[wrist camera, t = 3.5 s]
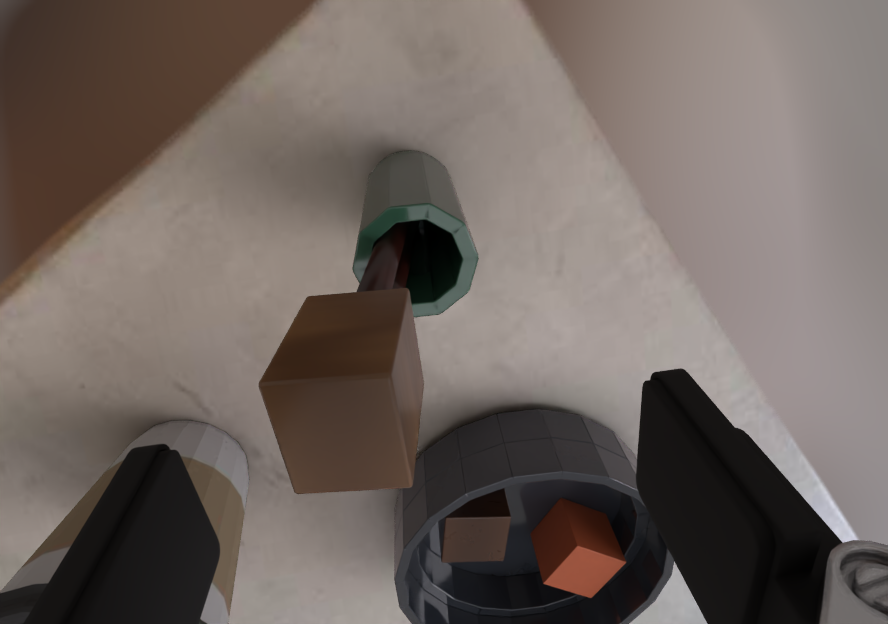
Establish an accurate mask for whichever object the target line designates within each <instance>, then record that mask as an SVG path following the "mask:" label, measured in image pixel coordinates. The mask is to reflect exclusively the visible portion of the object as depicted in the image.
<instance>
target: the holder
mask: <svg viewBox="0 0 888 624" xmlns="http://www.w3.org/2000/svg"><path fill="white" fill-rule="evenodd" d="M417 220H420V223H419V228H418V232H417V237H416V241H415V246H414V250H413V255H412V260H411V264H410V269H409V273H408V278H407V282H406V287H405V288H408V289H409V291H410V298H411V304H412V310H413V317H420V316H430V315H439V314H441V313H443V312H444V311H445V310H446V309H448V308H449V307H450V306H451V305H453V304H454V303H455V302H456V301H458V300H459V299H460V298H462V297H463V296H464V295H465V294H467V293H468V291H469V290H470V287H471V283H472V280H473V276H474V273H475V269H476V266H477V262H478V259H479V258H478V253H477V250H476V247H475V244H474V241H473V238H472V236H471V233H470V230H469V227H468V224H467V221H466V219H465V216H464V213H463V210H462V207H461V204H460V202H459V199H458V196H457V193H456V191H455V188H454V186H453V183H452V181H451V178H450V176H449V173H448V171H447V169H446V168H445V166H443V165H442V164H441V163H440V162H439V161H438V160H436V159H435V158H433V157H432V156H430V155H428V154H426V153H423V152H419V151H400V152H396V153H394V154H391V155H389V156H388V157H386V158H384V159H383V160H382V161H381V162H380V163H379V164H378V165H377V166H376V167H375V168H374V170H373V171H372V172H371V173H370V175H369V178H368V183H367V189H366V195H365V200H364V206H363V212H362V217H361V223H360V229H359V234H358V240H357V246H356V251H355V257H354V263H353V272H354V274H355V276H356V278H357V280H358V281H359V283H360V282H361V279H362V277H363V274H364V272H365V269H366V266H367V264H368V261H369V259H370V256H371V254H372V251H373V248H374V246H375V243H376V241H377V239H378V238H380V237H381V236H382V235H383V234H384V233H385V232H386V231H388V230H389V229H390V228H391V227H392V226H393V225H394V224H396V223H397V222H407V221H417Z"/></svg>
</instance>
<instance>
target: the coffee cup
mask: <svg viewBox="0 0 888 624" xmlns="http://www.w3.org/2000/svg"><path fill="white" fill-rule="evenodd" d="M156 444H166V445H167V446H169V448H170V449H171V450H177V451H178V452H179V454H180V456H181V458H182V460H183V462H184V465H185V467H186V469H187V471H188V473H189V476H190V478H191V480H192V482H193V484H194V487H195V489H196V491H197V493H198V495H199V498H200V500H201V502H202V504H203V506H204V509H205V511H206V513H207V515H208V517H209V520H210V522H211V524H212V526H213V529H214V531H215V533H216V535H217V537H218V540H219V543H220V558H219V562H218V565H217V568H216V571H215V574H214V577H213V581H212V584H211V587H210V590H209V593H208V596H207V599H206V602H205V605H204V609H203V612H202V615H201V618H200V621H199V624H228V622H229V615H230V608H231V601H232V594H233V588H234V581H235V574H236V567H237V560H238V553H239V547H240V540H241V533H242V526H243V519H244V513H245V506H246V499H247V492H248V485H249V474H248V464H247V458H246V454H245V453H244V451H243V450H242V448H241V447H240V445H239V443H238V442H237V441H235V440H234V439H233V438H232V437H231V436H229V435H228V434H227V433H226V432H224V431H222V430H220V429H218V428H216V427H213V426H211V425H209V424H205V423H200V422H196V421H191V420H184V421H169V422H166V423H162V424H159V425H155V426H154V427H152V428H151V429H149V430H148V431H146V432H145V433H143V434H142V435H141V436H140V437H138V438H137V439H135V440H134V441H132V442H131V443H130V444H129V445H128V447H127V448H126V449H125V450H124V451H123V452H122V453H121V455H120V456H119V457H118V458H117V459H116V460H115V461H114V463H113V464H112V465H111V466H110V467H109V468H108V469H107V471H106V472H105V473H104V474H103V475H102V476H101V477H100V478H99V480H98V481H97V482H96V483H95V484H94V485H93V486H92V488H91V489H90V490H89V491H88V492H87V493H86V494H85V496H84V497H83V498H82V499H81V500H80V501H79V502H78V504H77V505H76V506H75V507H74V508H73V509H72V510H71V512H70V513H69V514H68V515H67V516H66V517H65V518H64V520H63V521H62V522H61V523H60V524H59V525H58V526H57V528H56V529H55V530H54V531H53V532H52V533H51V534H50V536H49V537H48V538H47V539H46V540H45V541H44V542H43V544H42V545H41V546H40V547H39V548H38V549H37V550H36V552H35V553H34V554H33V555H32V556H31V557H30V558H29V559H28V561H27V562H26V563H25V564H24V565H23V566H22V567H21V569H20V570H19V571H18V572H17V573H16V574H15V575H14V577H13V578H12V579H11V580H10V581H9V582H8V583H7V585H6V586H5V587H4V588H3V589H2V590H1V591H0V624H23V623H24V622H25V620H26V618H27V617H28V615H29V613H30V612H31V610H32V609H33V607H34V605H35V604H36V602H37V600H38V599H39V597H40V596H41V594H42V592H43V591H44V589H45V587H46V586H47V584H48V583H49V581H50V579H51V578H52V576H53V574H54V573H55V571H56V570H57V568H58V566H59V565H60V563H61V561H62V560H63V558H64V556H65V555H66V553H67V552H68V550H69V548H70V547H71V545H72V543H73V542H74V540H75V539H76V537H77V535H78V534H79V532H80V530H81V529H82V527H83V526H84V524H85V522H86V521H87V519H88V517H89V516H90V514H91V513H92V511H93V509H94V508H95V506H96V504H97V503H98V501H99V500H100V498H101V496H102V495H103V493H104V491H105V490H106V488H107V486H108V485H109V483H110V482H111V480H112V478H113V477H114V475H115V473H116V472H117V470H118V469H119V467H120V465H121V464H122V462H123V460H124V459H125V457H126V456H127V454H128V453H129V451H130V450H131V449H133V448H135V447H142V446H149V445H156Z"/></svg>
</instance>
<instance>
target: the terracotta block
mask: <svg viewBox="0 0 888 624" xmlns="http://www.w3.org/2000/svg"><path fill="white" fill-rule="evenodd" d="M530 535H531V539H532V543H533V547H534V550H535V554H536V558H537V562H538V566H539V570H540V573H541V577H542V581H543V584H546V585H549V586H552V587H556V588H559V589H562V590H566V591H569V592H572V593H576V594H579V595H582V596H586V597H589V598H592V597H593V596H594V595H595V594H596V593H597V592H598V591H599V590H600V589H601V588H602V587H603V586H604V585H605V584H606V583H607V582H608V581H609V580H610V579H611V578H612V577H613V576H614V574H615V573H616V572H617V571H618V570H619V569H620V568H621V567H622V566H623V565H624V564H625V563H626V560H625V558H624V555H623V553H622V551H621V548H620V546H619V543H618V541H617V539H616V536H615V534H614V532H613V529H612V527H611V525H610V522H609V520H608V518H607V515H606V514H605V513H602V512H599V511H596V510H594V509H591V508H588V507H585V506H583V505H580V504H577V503H574V502H571V501H569V500H566V499H563V498H560V499H559V500H558V502H557V503H556V504H555V505H554V506H553V508H552V509H551V510H550V511H549V512H548V513H547V515H546V516H545V517H544V518H543V519H542V521H541V522H540V523H539V524H538V525H537V526H536V528H535V529H534V530H533V531H532V532H531V534H530Z"/></svg>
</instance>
